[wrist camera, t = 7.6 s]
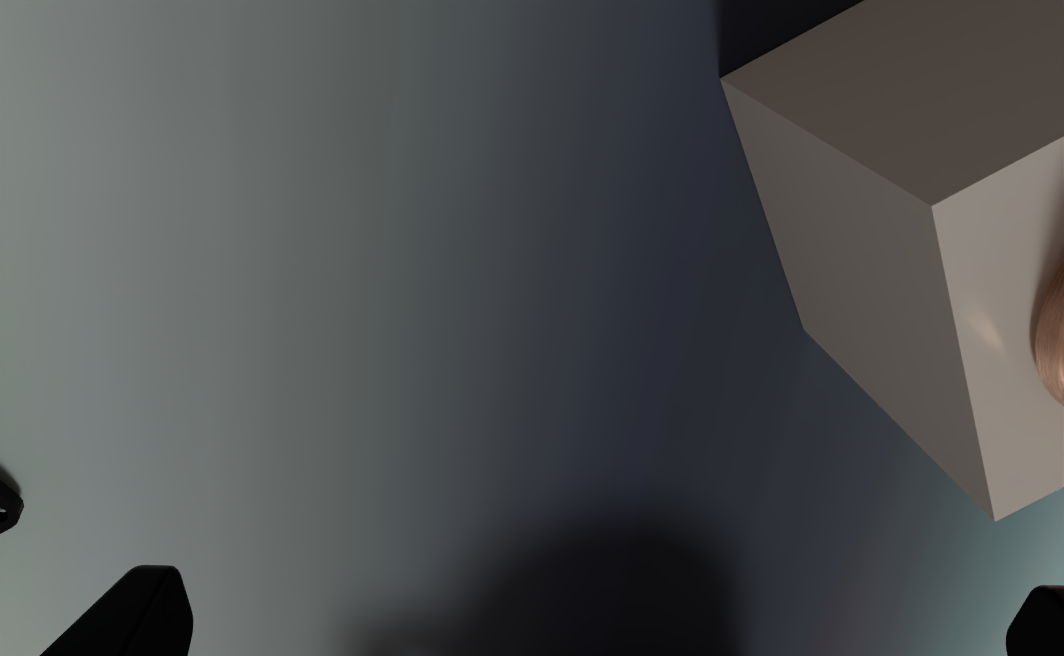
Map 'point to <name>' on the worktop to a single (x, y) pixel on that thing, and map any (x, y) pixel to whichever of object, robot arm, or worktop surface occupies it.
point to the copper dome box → (925, 218)
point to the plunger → (1052, 339)
